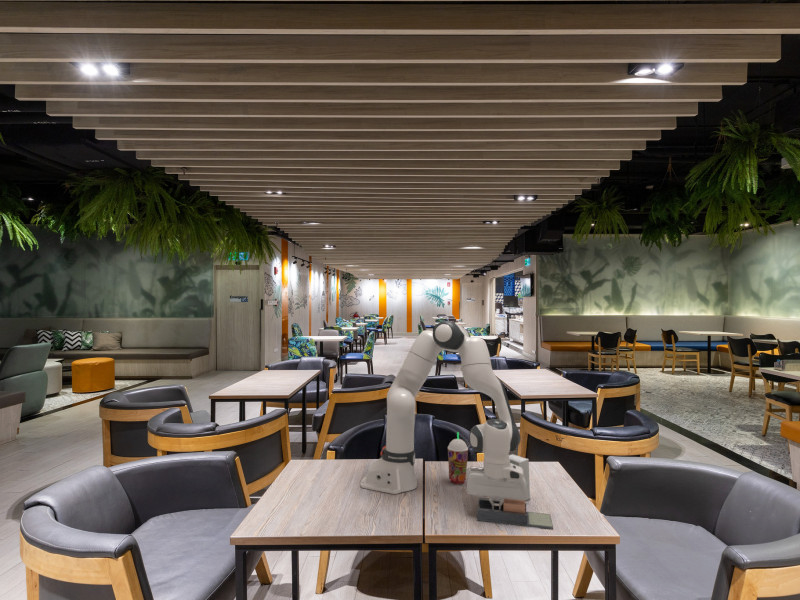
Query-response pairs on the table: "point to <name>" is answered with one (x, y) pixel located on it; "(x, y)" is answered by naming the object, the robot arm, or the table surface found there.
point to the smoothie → (457, 460)
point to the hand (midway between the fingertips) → (496, 509)
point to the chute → (512, 516)
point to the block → (514, 505)
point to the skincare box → (525, 466)
